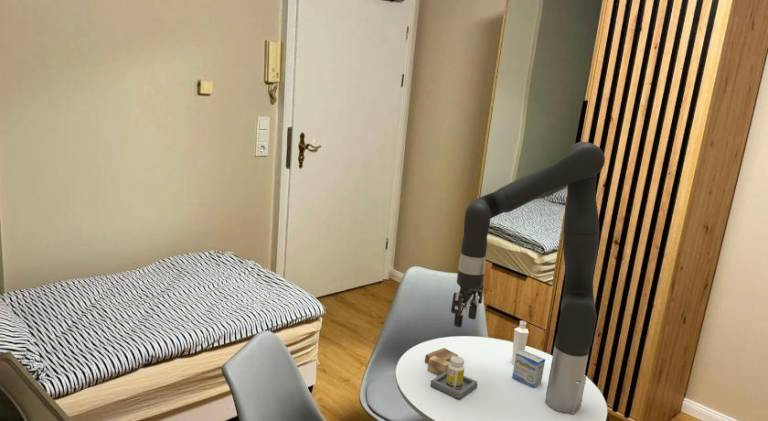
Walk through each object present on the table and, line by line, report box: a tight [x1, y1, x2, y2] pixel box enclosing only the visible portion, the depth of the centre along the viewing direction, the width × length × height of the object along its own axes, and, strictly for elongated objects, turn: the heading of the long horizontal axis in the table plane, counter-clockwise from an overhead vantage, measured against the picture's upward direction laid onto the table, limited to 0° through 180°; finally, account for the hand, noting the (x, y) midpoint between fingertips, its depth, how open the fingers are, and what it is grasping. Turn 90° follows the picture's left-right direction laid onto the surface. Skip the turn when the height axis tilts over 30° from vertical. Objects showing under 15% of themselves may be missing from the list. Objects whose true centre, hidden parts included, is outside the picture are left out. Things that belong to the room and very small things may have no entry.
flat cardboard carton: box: [424, 347, 459, 365], centre depth 176 cm, size 6×9×3 cm, turn 133°
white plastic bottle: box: [510, 320, 530, 366], centre depth 178 cm, size 5×4×15 cm
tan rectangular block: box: [427, 356, 450, 376], centre depth 169 cm, size 6×3×4 cm, turn 52°
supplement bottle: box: [446, 355, 465, 389], centre depth 160 cm, size 5×5×8 cm
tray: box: [430, 370, 479, 401], centre depth 161 cm, size 10×10×2 cm
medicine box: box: [511, 350, 546, 389], centre depth 168 cm, size 8×4×9 cm, turn 47°
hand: (464, 322), depth 159 cm, fingers open, 8 cm apart
